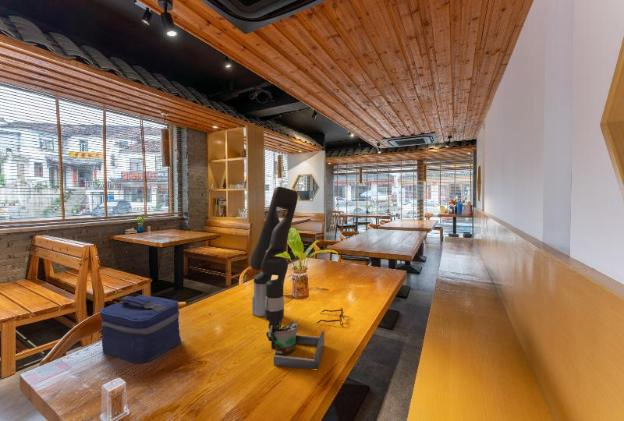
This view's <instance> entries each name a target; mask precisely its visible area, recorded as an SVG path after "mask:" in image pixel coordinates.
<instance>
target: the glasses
mask: <svg viewBox="0 0 624 421" xmlns="http://www.w3.org/2000/svg"><path fill="white" fill-rule="evenodd" d="M321 312H323V313H324V312H330V313H331V312H340V314H339V319H331V320H329V319H328V320H326V319H320V320H318V321H317V322H316V323H318V324H319V323H322V322H325V323H332V322H339V323H340V325H341V322H342V323H343V318H344V317H343V314H344V310H343V308H342V307H341V309H333V310H331V309H330V310H329V309H323V310H322V311H321ZM342 317H343V318H342Z"/></svg>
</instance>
